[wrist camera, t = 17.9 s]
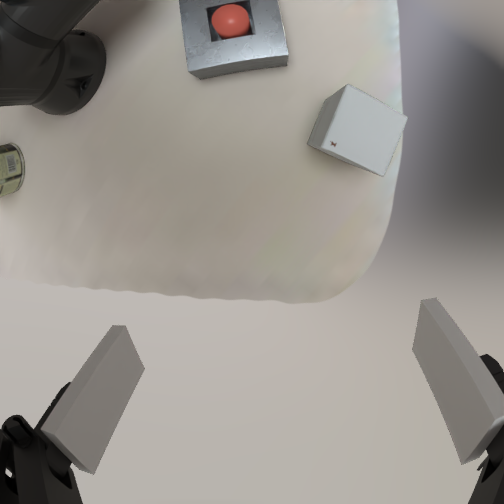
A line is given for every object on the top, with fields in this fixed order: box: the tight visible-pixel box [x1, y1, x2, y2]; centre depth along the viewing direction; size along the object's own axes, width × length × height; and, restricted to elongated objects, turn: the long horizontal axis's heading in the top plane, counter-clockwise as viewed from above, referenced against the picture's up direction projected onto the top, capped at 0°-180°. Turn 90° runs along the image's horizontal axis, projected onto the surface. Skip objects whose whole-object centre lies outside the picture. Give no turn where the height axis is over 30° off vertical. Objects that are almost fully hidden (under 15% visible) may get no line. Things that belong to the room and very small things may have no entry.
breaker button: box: [212, 4, 252, 40], centre depth 29 cm, size 4×4×5 cm
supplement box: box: [307, 84, 408, 177], centre depth 31 cm, size 7×7×13 cm
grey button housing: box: [179, 0, 288, 80], centre depth 30 cm, size 12×12×6 cm
